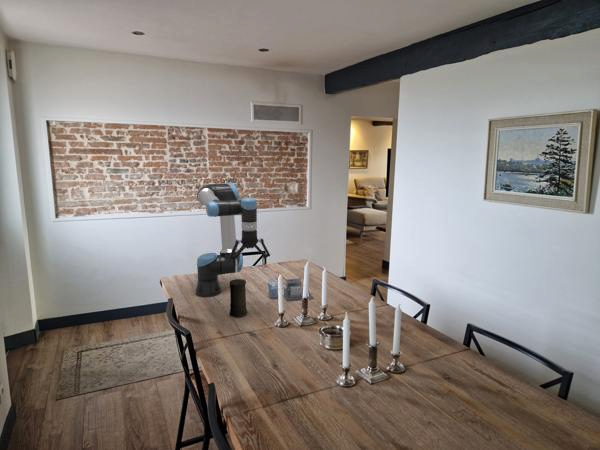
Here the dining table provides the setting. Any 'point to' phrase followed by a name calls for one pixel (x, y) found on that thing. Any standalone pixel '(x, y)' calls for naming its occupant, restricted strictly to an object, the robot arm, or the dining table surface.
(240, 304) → the container
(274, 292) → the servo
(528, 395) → the dining table surface
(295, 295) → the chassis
